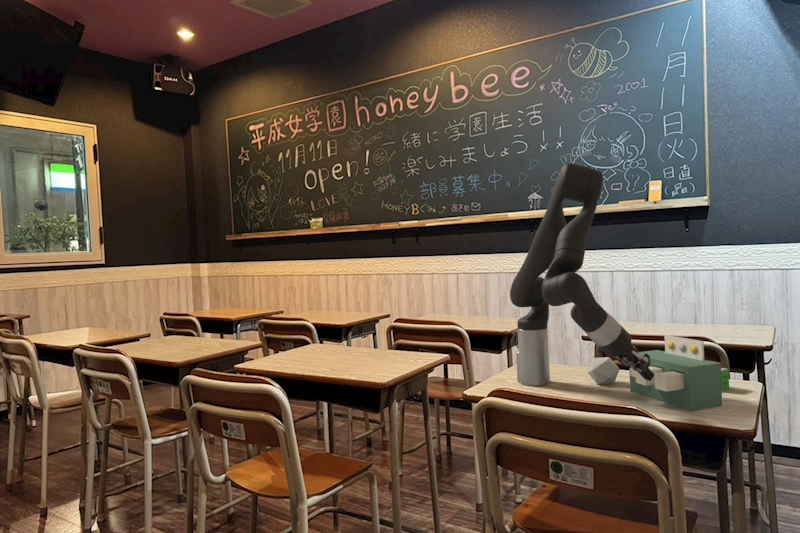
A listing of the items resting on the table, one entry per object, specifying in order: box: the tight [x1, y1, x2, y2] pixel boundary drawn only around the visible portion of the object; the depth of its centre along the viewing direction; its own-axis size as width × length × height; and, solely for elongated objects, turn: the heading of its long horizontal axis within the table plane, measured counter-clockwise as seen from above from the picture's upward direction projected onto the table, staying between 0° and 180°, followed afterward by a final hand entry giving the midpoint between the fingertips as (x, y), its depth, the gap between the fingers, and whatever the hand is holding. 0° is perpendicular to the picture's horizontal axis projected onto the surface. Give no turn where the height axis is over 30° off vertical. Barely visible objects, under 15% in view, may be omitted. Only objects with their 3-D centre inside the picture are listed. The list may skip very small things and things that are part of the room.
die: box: [587, 356, 620, 386], centre depth 172 cm, size 8×9×10 cm
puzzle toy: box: [721, 367, 730, 391], centre depth 160 cm, size 6×6×6 cm
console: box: [628, 334, 723, 412], centre depth 152 cm, size 22×10×16 cm, turn 17°
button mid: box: [635, 366, 664, 386], centre depth 150 cm, size 4×6×4 cm, turn 107°
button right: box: [654, 371, 685, 392], centre depth 143 cm, size 4×6×4 cm, turn 107°
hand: (650, 377), depth 141 cm, fingers closed
